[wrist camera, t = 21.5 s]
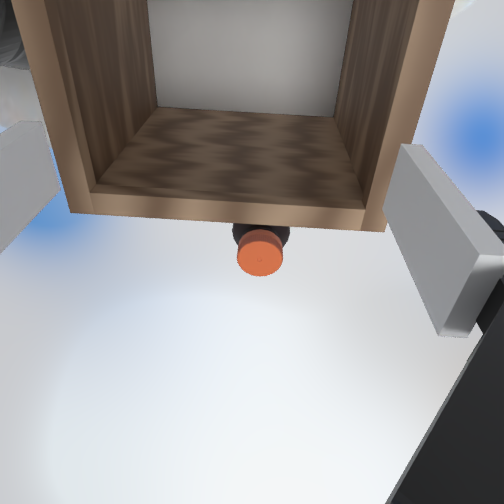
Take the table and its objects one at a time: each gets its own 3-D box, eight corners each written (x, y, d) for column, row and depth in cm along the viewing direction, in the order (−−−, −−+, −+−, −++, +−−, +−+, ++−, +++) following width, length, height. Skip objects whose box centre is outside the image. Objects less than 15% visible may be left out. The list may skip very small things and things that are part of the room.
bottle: (295, 172, 56) (305, 255, 40) (267, 204, 60) (265, 292, 44) (259, 145, 54) (253, 221, 38) (231, 180, 57) (215, 263, 41)
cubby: (149, 115, 52) (70, 212, 32) (127, -78, 40) (-23, -121, 20) (340, 126, 52) (384, 232, 32) (376, -65, 40) (483, -93, 20)
